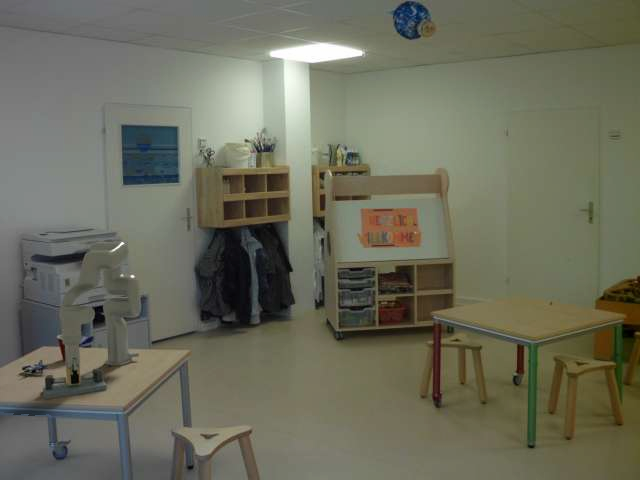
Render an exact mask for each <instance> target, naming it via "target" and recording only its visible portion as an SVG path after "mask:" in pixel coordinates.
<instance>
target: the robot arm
mask: <svg viewBox="0 0 640 480" xmlns="http://www.w3.org/2000/svg"><path fill="white" fill-rule="evenodd" d="M128 256H129V247H128V245H127V244H126V243H125V242H122V241H97V242H96V241H95V242H93V243H91V245H90V247H89V251H87V252H86V253H85V254H84V257H83V260H82V262H81V263H82V264H81V268H80V272H79V276H78V279H77V282H76V283H75V284H74V285H72V286H71V287H70V288H69V289H68V290H67V292H66V293H65V294H64V295H63V297H62V299H61V303H60V304H61V305H60V308H59V313H58V314H59V315H58V316H59V320H60V321H61V334H62V340H63V344H64V345H65V361H64V362H65V366H66V367H67V368H71V384H78V383H79V374H78V367H79V366H81V358H80V357H81V356H80V355H81V354H80V344H82V342H83V340H82V339H83V337H82V325H87V324H90V323H92V321H93V320H94V319H95V315H96V312H95V309H94V307H91V306H88V305H73V304H74V302H75V301H76V300H77V299H78V298H79V297H80V296H82V295H84V294H86V293H88V292H91V291H92V290H95V289H96V288H97V287H99V282H100V278H101V273H102V276H103V277H102V279H103V286H104V291H105V293H106V294H107V295H111V296H112V297H107V298H105V300H104V301H103V304H102V310H103V314H104V318H105V328H106V329H105V330H106V346H107V347H106V349H107V350H106V351H107V359H105V360H104V364H105V365H107V366H113V367H116V366H118V367H119V366H125V365H129V364H131V363H132V362H133V358H137V357H140V354H139V352H135V351H134V352H133V351H132V352H130V351H129V343H128V342H129V340H128V339H129V337H128V324H127V321H126V320H125V319H124V318H137V317H138V316H140V314H141V311H142V301H141V291H140V283H139V279H138V278H137V276H135V275H133V274H132V275H131V274H123V272H122V265H121V264H122V263H123V262H124V261H125V260H126V259H127V257H128ZM72 366H73V367H72ZM73 369H74V370H73Z"/></svg>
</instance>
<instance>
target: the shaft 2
mask: <svg viewBox="0 0 640 480" xmlns="http://www.w3.org/2000/svg"><path fill="white" fill-rule="evenodd" d="M91 379H93V381H95V382H97V383H99V382H103V380H104V378H103V369H100V368H99V367H97V368H93V369H92V372H88V373H83V374H81V381H85V380H91Z"/></svg>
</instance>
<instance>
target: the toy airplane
mask: <svg viewBox="0 0 640 480" xmlns="http://www.w3.org/2000/svg"><path fill="white" fill-rule="evenodd" d="M21 370H22V372H21V373H19V375H21V374H25V378H27V377H28V375H29V374H33V373H34V374H35V373H36V372H37V371H38V372H40V373H42V374H43V372H44V371H45V370H49V365H48V364H43V359H40V360H39V362H38V364H36V363H35V364H34V365H33V366H32V365H26V366H25V365H23V366H21Z"/></svg>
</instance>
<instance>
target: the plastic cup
mask: <svg viewBox="0 0 640 480" xmlns="http://www.w3.org/2000/svg"><path fill="white" fill-rule="evenodd" d="M56 338H57V340H58V345H59V348H60V354H61V358H62V360H63V362H65V345H64V344H63V340H62V333H61V334H59V335H57V336H56Z"/></svg>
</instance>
